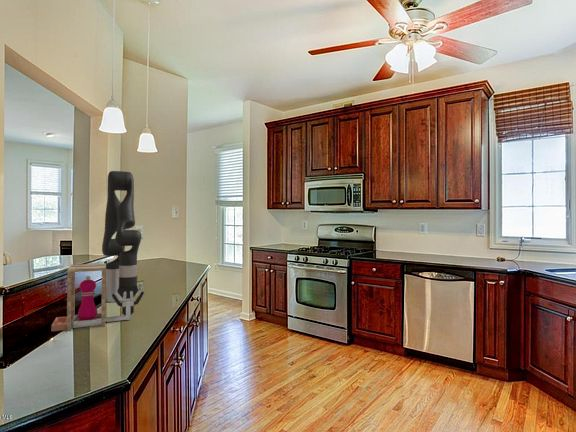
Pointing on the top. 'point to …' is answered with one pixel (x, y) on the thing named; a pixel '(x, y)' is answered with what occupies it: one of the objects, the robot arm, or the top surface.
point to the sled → (93, 322)
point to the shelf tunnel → (70, 289)
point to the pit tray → (59, 324)
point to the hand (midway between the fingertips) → (127, 314)
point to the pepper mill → (87, 300)
